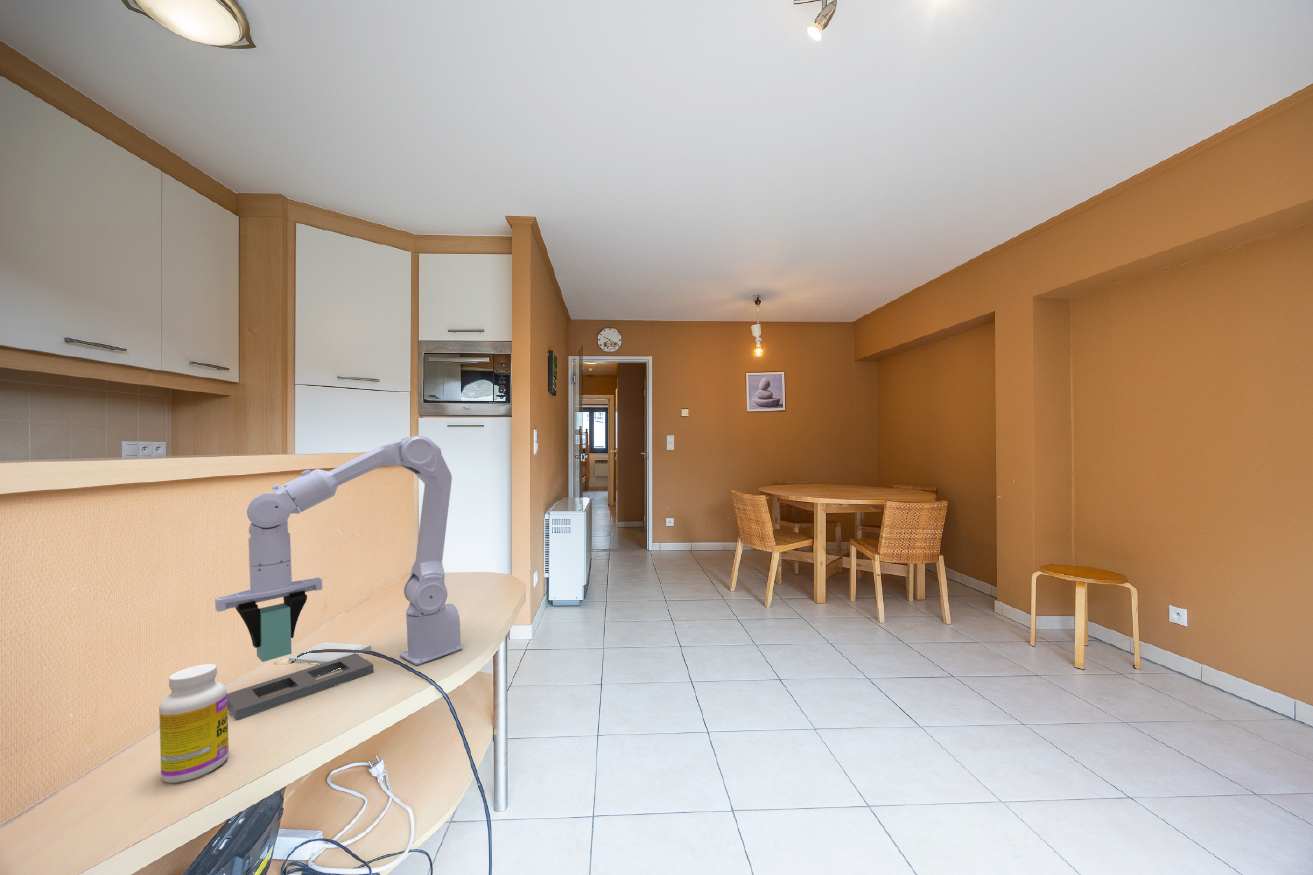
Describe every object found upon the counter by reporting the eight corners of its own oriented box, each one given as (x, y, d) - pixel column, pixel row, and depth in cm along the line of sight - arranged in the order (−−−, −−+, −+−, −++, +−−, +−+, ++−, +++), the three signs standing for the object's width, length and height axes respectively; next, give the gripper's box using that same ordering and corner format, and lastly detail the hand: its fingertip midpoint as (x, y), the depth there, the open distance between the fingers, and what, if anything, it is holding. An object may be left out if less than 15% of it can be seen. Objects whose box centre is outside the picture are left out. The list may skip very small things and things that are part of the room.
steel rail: (355, 660, 99) (355, 653, 99) (373, 672, 94) (373, 664, 94) (224, 703, 84) (224, 694, 84) (236, 720, 78) (235, 710, 78)
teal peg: (285, 648, 89) (283, 602, 89) (291, 653, 86) (290, 607, 86) (256, 655, 86) (255, 609, 86) (262, 661, 83) (261, 613, 83)
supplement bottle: (226, 770, 66) (222, 672, 66) (155, 793, 62) (152, 688, 62) (231, 747, 71) (228, 656, 71) (167, 766, 67) (164, 670, 67)
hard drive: (288, 657, 100) (337, 660, 97) (324, 641, 108) (371, 643, 105) (288, 665, 100) (337, 669, 97) (325, 648, 108) (372, 651, 105)
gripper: (312, 551, 94) (315, 624, 94) (210, 568, 83) (213, 650, 83) (324, 555, 90) (327, 631, 90) (218, 574, 79) (221, 660, 79)
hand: (273, 641), depth 86 cm, fingers closed on teal peg, 4 cm apart
